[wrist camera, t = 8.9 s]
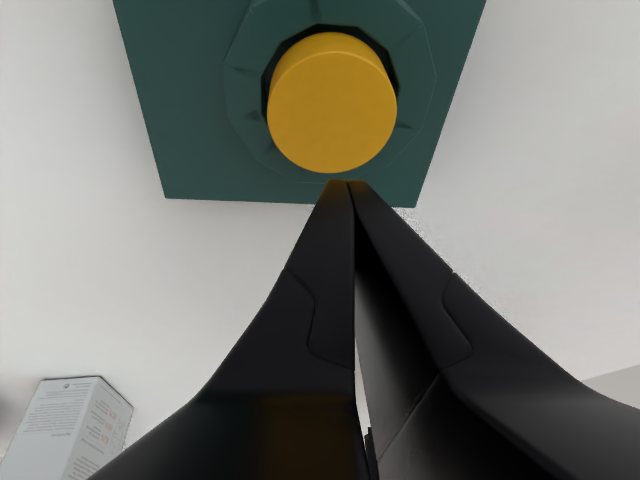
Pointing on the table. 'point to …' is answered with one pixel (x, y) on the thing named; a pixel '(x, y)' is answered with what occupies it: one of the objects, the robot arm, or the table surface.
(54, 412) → the small box
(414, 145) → the teal square base
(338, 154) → the cylinder
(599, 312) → the table surface
